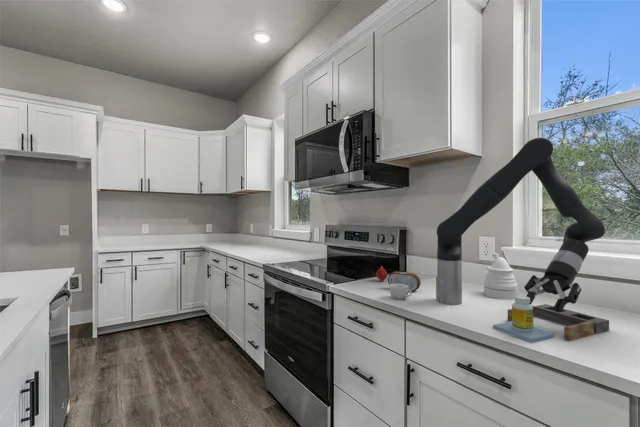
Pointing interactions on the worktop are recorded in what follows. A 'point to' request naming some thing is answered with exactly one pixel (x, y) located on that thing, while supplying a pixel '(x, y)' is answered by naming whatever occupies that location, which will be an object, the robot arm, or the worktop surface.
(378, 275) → the onion
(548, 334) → the pad
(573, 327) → the channel
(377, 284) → the worktop surface
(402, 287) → the teacup
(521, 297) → the supplement bottle
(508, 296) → the honey pot
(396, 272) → the tin
